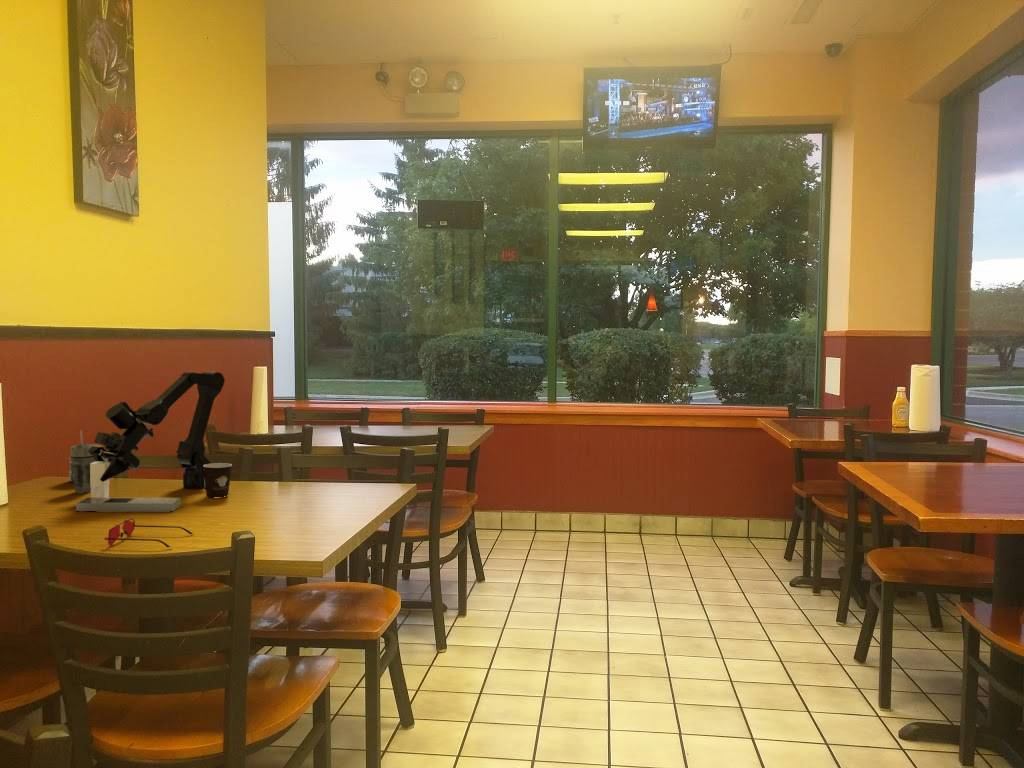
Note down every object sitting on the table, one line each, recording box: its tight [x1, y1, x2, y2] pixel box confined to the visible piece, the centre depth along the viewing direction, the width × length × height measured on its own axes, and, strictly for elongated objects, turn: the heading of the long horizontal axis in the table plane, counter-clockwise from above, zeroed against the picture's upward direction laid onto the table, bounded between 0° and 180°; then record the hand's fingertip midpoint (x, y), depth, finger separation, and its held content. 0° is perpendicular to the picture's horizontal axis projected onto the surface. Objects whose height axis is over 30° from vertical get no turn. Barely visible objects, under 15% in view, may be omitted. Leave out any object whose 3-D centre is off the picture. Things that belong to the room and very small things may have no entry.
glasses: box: [103, 518, 194, 548], centre depth 197 cm, size 14×16×5 cm
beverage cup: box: [69, 429, 94, 494], centre depth 253 cm, size 7×7×20 cm
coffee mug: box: [192, 462, 233, 499], centre depth 252 cm, size 12×9×10 cm
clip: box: [90, 462, 111, 498], centre depth 237 cm, size 4×4×12 cm
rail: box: [75, 497, 181, 513], centre depth 231 cm, size 26×8×2 cm, turn 98°
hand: (95, 479), depth 236 cm, fingers closed on clip, 6 cm apart
